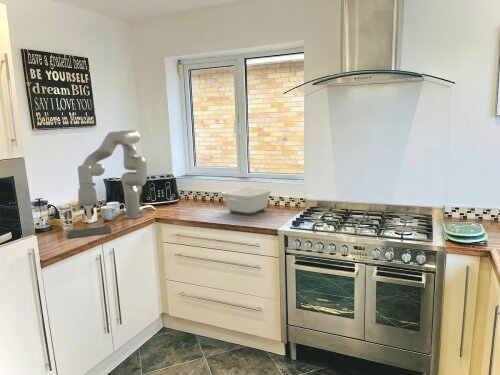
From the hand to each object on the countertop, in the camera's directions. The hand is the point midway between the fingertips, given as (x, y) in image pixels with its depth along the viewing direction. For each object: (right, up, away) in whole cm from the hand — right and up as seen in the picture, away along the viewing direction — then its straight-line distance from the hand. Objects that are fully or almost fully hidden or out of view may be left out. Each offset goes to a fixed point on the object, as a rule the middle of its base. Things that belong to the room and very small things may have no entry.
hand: (89, 215), depth 226 cm
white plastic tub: (+96, -1, +41) cm, 104 cm away
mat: (0, -11, +2) cm, 11 cm away
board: (0, -1, 0) cm, 1 cm away
